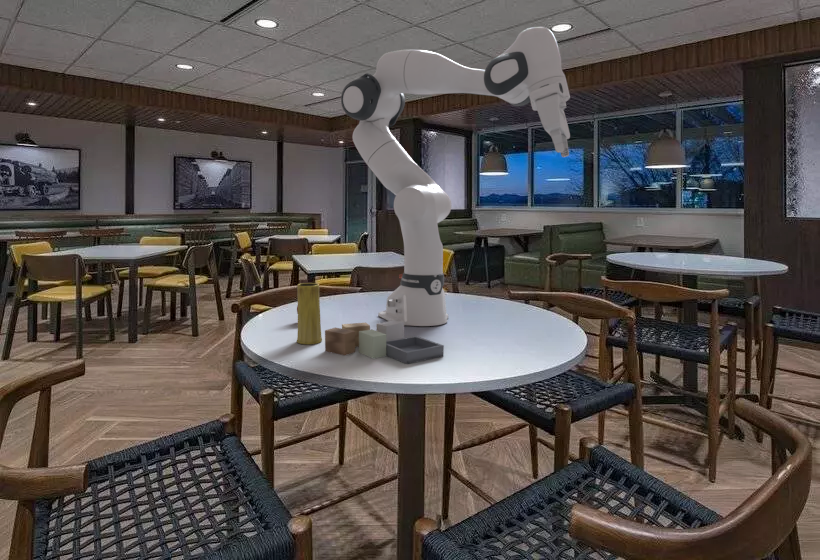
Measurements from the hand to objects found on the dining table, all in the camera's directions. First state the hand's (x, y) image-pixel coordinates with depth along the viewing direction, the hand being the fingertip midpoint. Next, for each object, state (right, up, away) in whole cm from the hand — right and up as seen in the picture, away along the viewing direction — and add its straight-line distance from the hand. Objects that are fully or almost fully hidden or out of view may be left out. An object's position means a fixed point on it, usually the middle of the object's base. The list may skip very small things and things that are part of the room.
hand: (563, 154), depth 122 cm
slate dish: (-36, -47, -5) cm, 59 cm away
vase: (-61, -45, +6) cm, 76 cm away
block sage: (-45, -47, -4) cm, 65 cm away
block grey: (-41, -45, +6) cm, 61 cm away
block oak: (-49, -45, +4) cm, 67 cm away
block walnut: (-52, -46, -2) cm, 70 cm away
